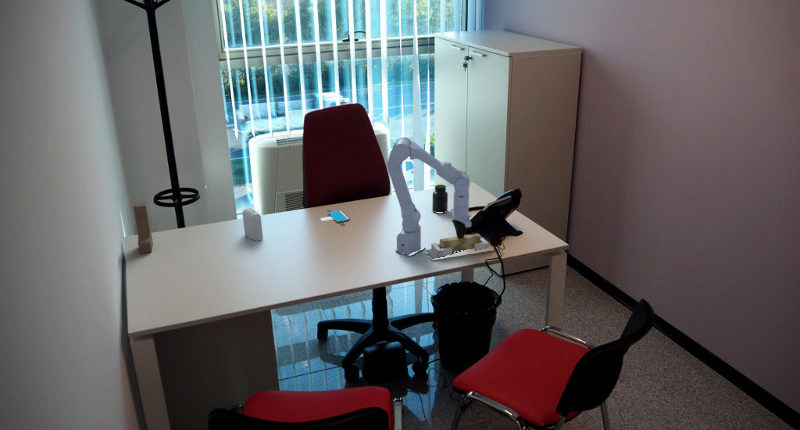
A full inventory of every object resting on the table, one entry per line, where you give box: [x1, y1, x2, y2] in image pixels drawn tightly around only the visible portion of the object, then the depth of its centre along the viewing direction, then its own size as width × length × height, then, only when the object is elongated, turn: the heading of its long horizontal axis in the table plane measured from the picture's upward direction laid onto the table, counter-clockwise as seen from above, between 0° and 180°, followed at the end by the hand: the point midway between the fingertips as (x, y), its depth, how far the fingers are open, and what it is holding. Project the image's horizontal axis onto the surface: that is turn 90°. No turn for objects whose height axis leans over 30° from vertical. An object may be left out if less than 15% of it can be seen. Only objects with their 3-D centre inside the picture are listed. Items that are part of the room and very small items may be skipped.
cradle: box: [424, 236, 490, 259], centre depth 247 cm, size 26×8×4 cm, turn 109°
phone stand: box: [320, 209, 351, 226], centre depth 281 cm, size 20×12×2 cm, turn 25°
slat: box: [439, 233, 482, 252], centre depth 247 cm, size 16×2×5 cm, turn 109°
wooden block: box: [132, 201, 154, 254], centre depth 250 cm, size 9×4×18 cm, turn 16°
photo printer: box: [242, 207, 264, 242], centre depth 261 cm, size 10×4×12 cm, turn 39°
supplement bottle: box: [431, 184, 449, 212], centre depth 286 cm, size 7×7×12 cm
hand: (460, 237), depth 246 cm, fingers closed, pressing on slat
